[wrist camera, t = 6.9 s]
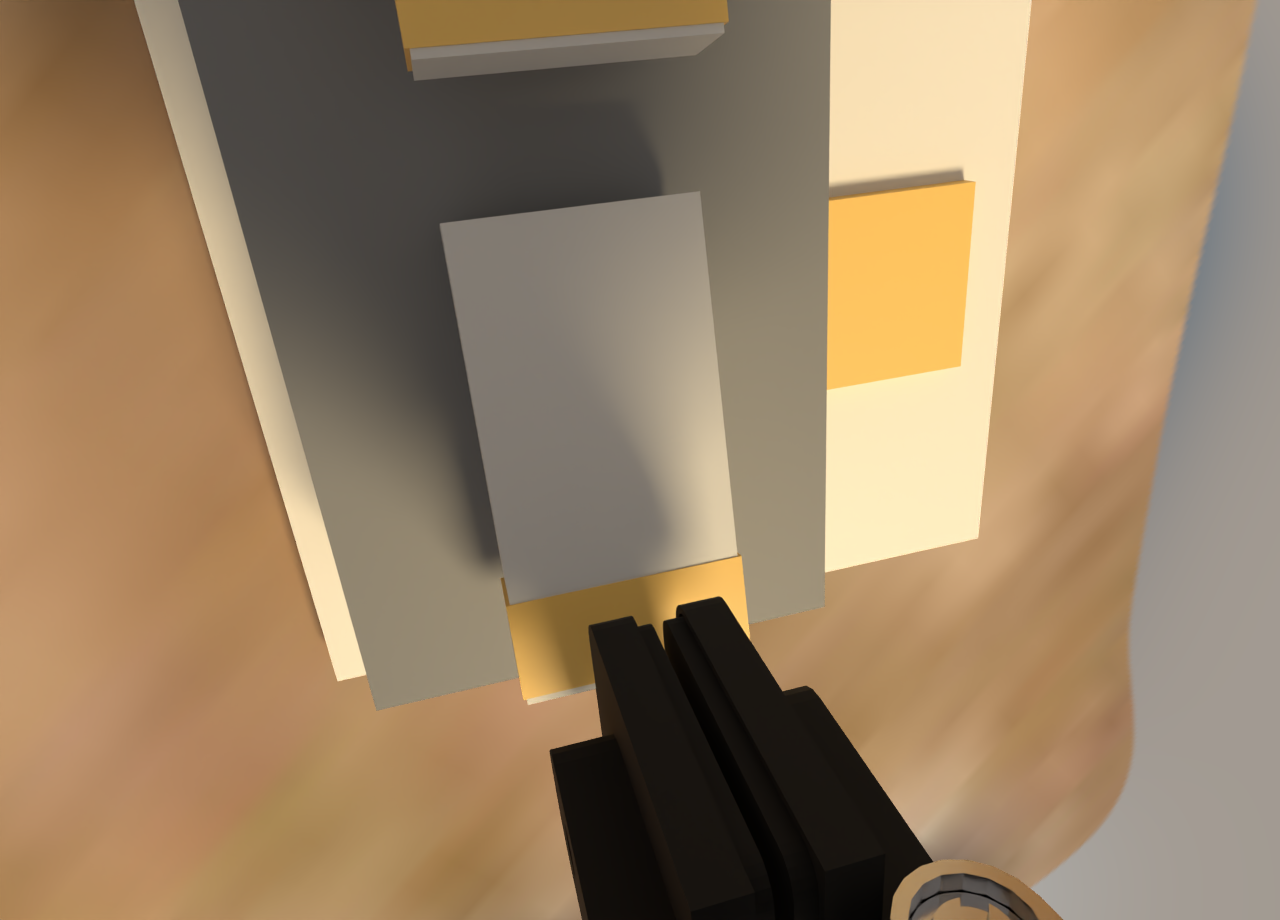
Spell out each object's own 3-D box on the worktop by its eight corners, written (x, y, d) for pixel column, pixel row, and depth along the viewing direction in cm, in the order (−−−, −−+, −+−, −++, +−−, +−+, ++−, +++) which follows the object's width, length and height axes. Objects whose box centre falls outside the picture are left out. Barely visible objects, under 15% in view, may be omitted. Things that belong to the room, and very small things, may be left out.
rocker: (436, 227, 11) (435, 223, 10) (681, 196, 11) (704, 190, 10) (517, 670, 12) (525, 706, 11) (727, 622, 13) (751, 652, 12)
